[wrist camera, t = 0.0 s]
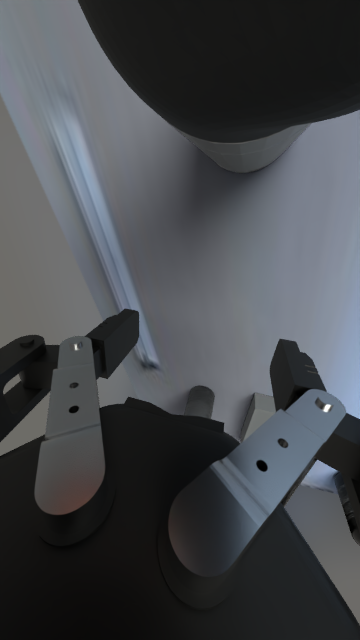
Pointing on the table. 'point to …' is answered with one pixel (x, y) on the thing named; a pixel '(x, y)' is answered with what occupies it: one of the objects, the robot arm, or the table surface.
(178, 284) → the table surface
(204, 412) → the pin
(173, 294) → the table surface
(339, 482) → the supplement bottle
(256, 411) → the tray
